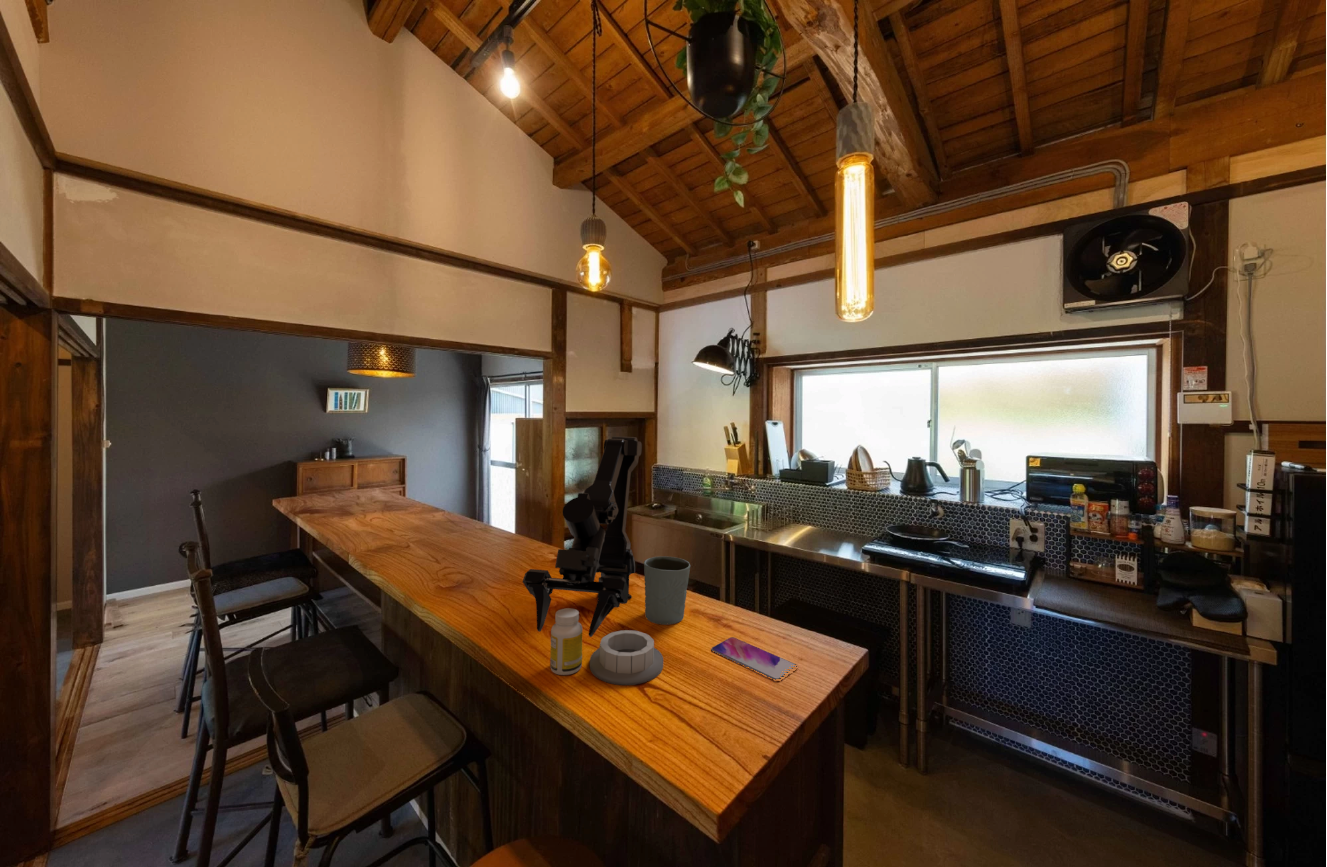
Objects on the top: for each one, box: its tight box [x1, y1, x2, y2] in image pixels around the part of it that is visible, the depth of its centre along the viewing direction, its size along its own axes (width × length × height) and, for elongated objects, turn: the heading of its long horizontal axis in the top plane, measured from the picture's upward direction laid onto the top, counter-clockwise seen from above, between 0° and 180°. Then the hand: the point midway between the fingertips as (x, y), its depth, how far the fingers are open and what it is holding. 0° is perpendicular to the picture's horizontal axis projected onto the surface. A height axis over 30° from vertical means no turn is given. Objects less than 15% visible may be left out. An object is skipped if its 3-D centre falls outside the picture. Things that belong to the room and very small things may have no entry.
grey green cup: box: [643, 555, 691, 626], centre depth 106 cm, size 10×10×12 cm
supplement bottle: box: [549, 607, 583, 676], centre depth 84 cm, size 5×5×10 cm
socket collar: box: [589, 629, 664, 686], centre depth 85 cm, size 13×13×4 cm
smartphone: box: [710, 636, 798, 680], centre depth 89 cm, size 7×1×15 cm
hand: (564, 633), depth 82 cm, fingers open, 9 cm apart
